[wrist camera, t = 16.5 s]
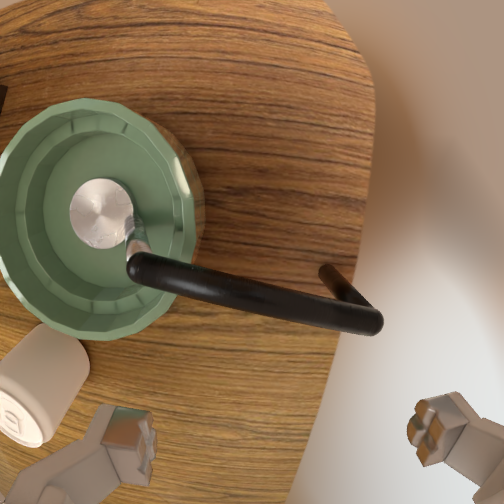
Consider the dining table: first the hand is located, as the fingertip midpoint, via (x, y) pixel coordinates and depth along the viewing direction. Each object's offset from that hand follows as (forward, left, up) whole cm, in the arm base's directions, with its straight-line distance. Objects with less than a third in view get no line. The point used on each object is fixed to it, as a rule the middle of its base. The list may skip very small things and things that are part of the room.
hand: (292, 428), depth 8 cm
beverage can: (+17, -17, -20) cm, 32 cm away
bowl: (0, -13, -20) cm, 24 cm away
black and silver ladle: (0, -4, -20) cm, 20 cm away
